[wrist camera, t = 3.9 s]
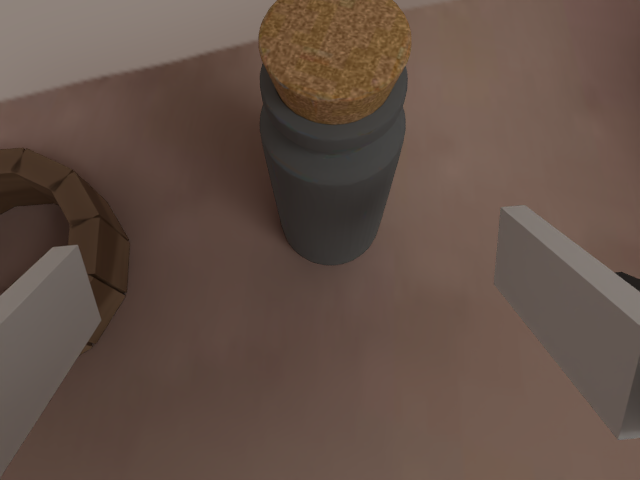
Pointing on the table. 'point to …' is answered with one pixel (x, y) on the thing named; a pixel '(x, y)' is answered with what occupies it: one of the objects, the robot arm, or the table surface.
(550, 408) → the table surface
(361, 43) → the bottle
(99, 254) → the bead ring
